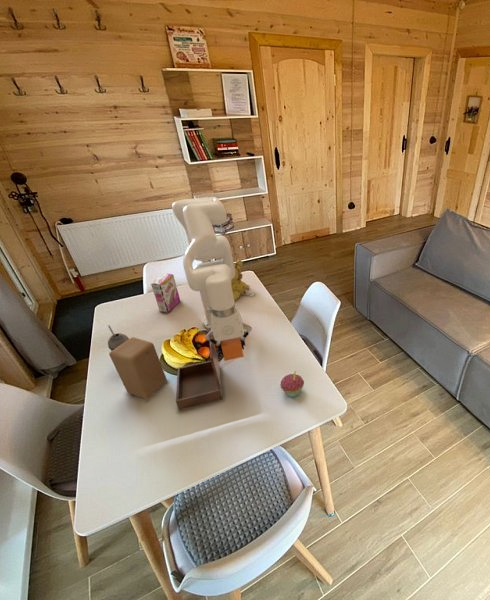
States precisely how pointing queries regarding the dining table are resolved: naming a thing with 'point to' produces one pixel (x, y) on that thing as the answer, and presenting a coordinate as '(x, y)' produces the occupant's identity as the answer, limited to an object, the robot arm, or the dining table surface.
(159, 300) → the candy bar box
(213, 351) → the lid
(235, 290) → the giraffe plush
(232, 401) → the dining table surface
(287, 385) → the cupcake
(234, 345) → the orange cube
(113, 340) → the beverage cup
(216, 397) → the chest
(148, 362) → the wooden block
